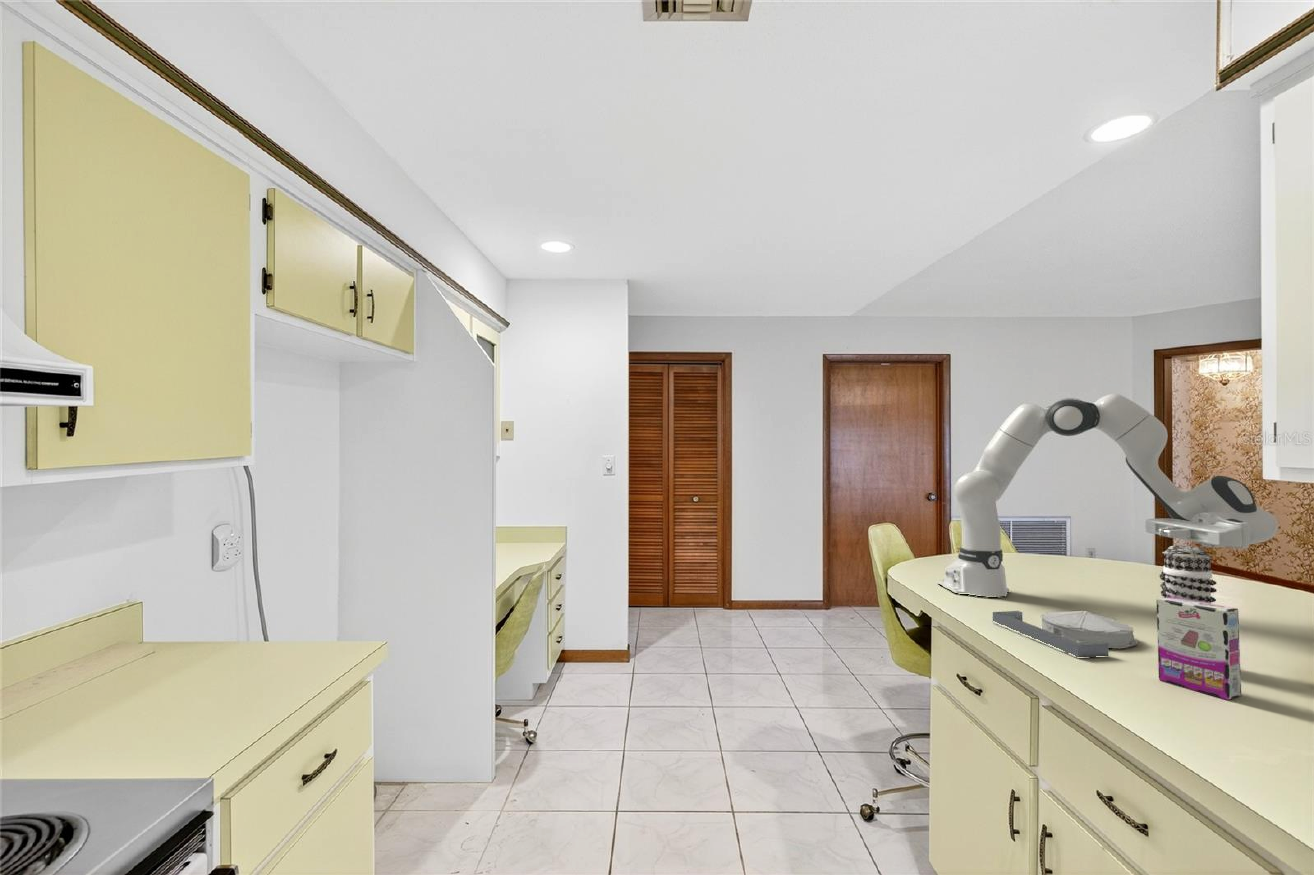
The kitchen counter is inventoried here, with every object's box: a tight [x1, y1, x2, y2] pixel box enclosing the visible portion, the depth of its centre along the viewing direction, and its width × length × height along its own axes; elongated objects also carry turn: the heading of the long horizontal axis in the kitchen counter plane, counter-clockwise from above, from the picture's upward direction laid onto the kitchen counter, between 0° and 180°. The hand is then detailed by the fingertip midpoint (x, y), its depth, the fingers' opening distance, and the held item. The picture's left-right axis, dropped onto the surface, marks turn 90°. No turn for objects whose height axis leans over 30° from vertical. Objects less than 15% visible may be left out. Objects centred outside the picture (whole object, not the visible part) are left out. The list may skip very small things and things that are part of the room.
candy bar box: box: [1156, 596, 1242, 701], centre depth 115 cm, size 11×5×16 cm, turn 25°
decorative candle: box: [1159, 545, 1217, 604], centre depth 127 cm, size 9×9×25 cm
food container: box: [1040, 610, 1139, 649], centre depth 146 cm, size 20×20×7 cm
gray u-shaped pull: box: [992, 610, 1110, 657], centre depth 145 cm, size 27×8×3 cm, turn 8°
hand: (1164, 533), depth 150 cm, fingers closed
